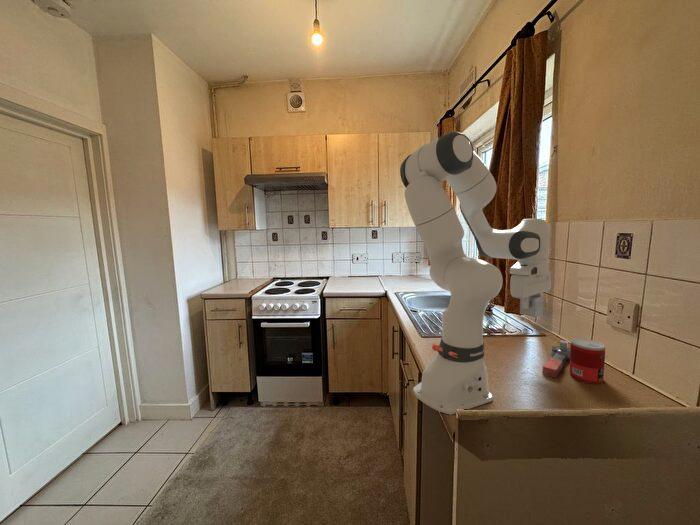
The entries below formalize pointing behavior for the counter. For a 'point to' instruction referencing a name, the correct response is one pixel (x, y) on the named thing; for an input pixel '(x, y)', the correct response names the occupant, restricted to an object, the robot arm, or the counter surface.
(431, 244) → the robot arm
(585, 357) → the canned food
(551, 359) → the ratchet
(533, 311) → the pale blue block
